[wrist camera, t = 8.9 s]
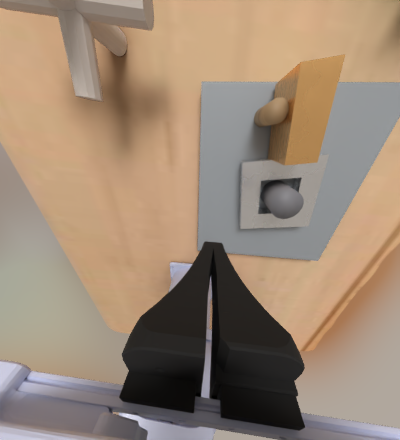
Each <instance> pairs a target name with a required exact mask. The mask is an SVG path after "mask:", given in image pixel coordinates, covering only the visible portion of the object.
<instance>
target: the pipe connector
mask: <svg viewBox="0 0 400 440" xmlns="http://www.w3.org/2000/svg"><path fill="white" fill-rule="evenodd" d="M0 8H4V9H7V10H13V11H20V12H27V13H34V14H41V15H48V16H54V17H58V18H59V22H60V27H61V31H62V36H63V40H64V45H65V49H66V54H67V59H68V63H69V68H70V72H71V77H72V81H73V86H74V90H75V95H76V96H77V97H81V98H84V99H89V100H94V101H100V102H103V95H102V88H101V82H100V75H99V68H98V62H97V55H96V48H95V42H94V38H95V39H96V40H98V41H99V42H100V43H101V44H103V45H104V46H105V47H106V48H108V49H109V50H110V51H111V52H113V53H114V54H115V55H117V56H122V55H124V54H125V52H126V50H127V40H126V37H125V35H124V33H123V32H122V31H121V30H120V28H119V27H118V26H123V27H130V28H137V29H144V30H151V31H152V29H153V24H154V12H153V2H152V0H0Z"/></svg>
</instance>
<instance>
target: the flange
mask: <svg viewBox="0 0 400 440" xmlns="http://www.w3.org/2000/svg"><path fill="white" fill-rule="evenodd" d="M344 58H345V55H339V56H333V57H328V58H322V59H316V60H310V61H305V62H301V63H299V64H298V65H297V66H296V67H295V68H294V69H293V70H292V71H290V72H289V73H288V74H287V75H286V76H285V77H284V78H282V79H281V80H280V81H279V82H278V83H277V84H276V85H275V94H274V99H275V98H278V97H282V98H285V99H286V100H287V101H288V104H289V112H288V114H287V116H286V118H285V119H284V120H283V121H282V122H280V123H278V124H274V125H271V132H270V142H269V151H268V158H267V159H256V160H246V161H241V170H240V212H239V225H240V229H251V228H279V227H306V226H309V224H310V220H311V217H312V213H313V210H314V206H315V203H316V199H317V196H318V192H319V189H320V185H321V182H322V178H323V175H324V171H325V168H326V164H327V161H328V157H329V154H323V153H320V151H321V147H322V143H323V139H324V135H325V131H326V127H327V124H328V120H329V116H330V112H331V108H332V104H333V100H334V96H335V93H336V89H337V85H338V81H339V77H340V73H341V69H342V65H343V61H344ZM289 178H296V179H295V184H294V190H296V191H297V192H298V193H300V194H301V195H302V197H303V199H304V204H303V207H302V209H301V210H300V212H299V213H298V214H296V215H295V216H293V217H291V218H288V219H280V218H277V217H275V216H274V215H273V214H272V213H271V211H270V210H269V209H262V210H258V209H259V198H260V187H261V181H263V180H276V179H289Z"/></svg>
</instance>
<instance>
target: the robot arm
mask: <svg viewBox="0 0 400 440" xmlns="http://www.w3.org/2000/svg"><path fill="white" fill-rule="evenodd" d="M170 273H171V285H170V288H169V291H168V294H167V295H165V296H164V297H163V298H162V299H161V300H160V301H159V302H158V303H157V304H156V305H154V306H153V307H152V308H151V309H149V310H148V311H147V312H146V313H144V314H143V315H142V316H141V317H140V319H139V320H138V322H137V323H136V325H135V327H134V329H133V330H132V332H131V334H130V336H129V338H128V341H127V343H126V346H125V348H124V350H123V353H122V357H123V361H124V362H125V364H126V366H127V368H128V370H129V372H128V375H127V377H126V380H125V383H124V385H119V384H113V383H107V382H101V381H94V380H88V379H81V378H75V377H68V376H62V375H55V374H49V373H43V372H37V371H31V369H30V368H29V367H27V366H26V365H24V364H21V363H17V362H13V361H6V360H0V440H213V435H214V433H215V431H216V429H219V430H226V431H231V432H237V433H243V434H249V435H254V436H261V437H266V438H272V439H278V440H400V428H396V427H389V426H383V425H377V424H370V423H364V422H357V421H351V420H345V419H338V418H332V417H325V416H319V415H312V414H306V413H301V412H300V408H299V405H298V402H297V399H296V396H298V392H297V389H296V386H295V382H294V380H296V379H297V378H298V377H299V376H300V375H301V374H302V372H303V370H304V363H303V360H302V358H301V355H300V353H299V351H298V349H297V346H296V344H295V342H294V340H293V338H292V336H291V335H290V334H289V333H288V332H287V331H286V330H285V329H284V328H283V327H282V326H281V325H280V324H279V323H278V322H277V321H276V320H275V319H274V318H273V317H272V316H271V315H270V314H269V313H268V312H267V311H266V310H265V309H264V308H263V307H262V305H261V304H260V303H259V302H258V301H257V300H256V299H255V297H254V296H253V295H252V294H251V293H250V291H249V290H248V289H247V287H246V286H245V285H244V283H243V282H242V280H241V279H240V277H239V276H238V274H237V273H236V271H235V269H234V268H233V266H232V264H231V262H230V260H229V258H228V256H227V254H226V252H225V249H224V246H223V244H222V243H219V242H207V241H205V242H204V243H203V246H202V249H201V251H200V253H199V254H198V256H197V258H196V260H195V261H194V263H193V264H188V263H177V262H171V263H170ZM211 299H212V309H213V312H212V330H211V329H209V325H210V300H211ZM112 411H113V412H119V415H116V414H113V413H112Z"/></svg>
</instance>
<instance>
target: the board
mask: <svg viewBox="0 0 400 440" xmlns="http://www.w3.org/2000/svg"><path fill="white" fill-rule="evenodd" d="M277 83H278V82H202V91H201V132H200V173H199V215H198V251H201V249H202V246H203V243H204V242H205V241H207V242H219V243H222V244H223V246H224V249H225V252H226V253H232V254H244V255H256V256H267V257H279V258H291V259H302V260H314V261H318V260H319V258H320V256H321V255H322V253H323V251H324V249H325V247H326V246H327V244H328V242H329V240H330V239H331V237H332V235H333V233H334V232H335V230H336V228H337V226H338V225H339V223H340V221H341V219H342V217H343V216H344V214H345V212H346V210H347V209H348V207H349V205H350V203H351V202H352V200H353V198H354V196H355V195H356V193H357V191H358V189H359V187H360V186H361V184H362V182H363V180H364V179H365V177H366V175H367V173H368V172H369V170H370V168H371V166H372V165H373V163H374V161H375V159H376V157H377V156H378V154H379V152H380V150H381V149H382V147H383V145H384V143H385V142H386V140H387V138H388V136H389V135H390V133H391V131H392V129H393V127H394V126H395V124H396V122H397V120H398V119H399V117H400V83H394V82H338V85H337V89H336V93H335V96H334V100H333V104H332V108H331V112H330V116H329V120H328V124H327V127H326V131H325V135H324V139H323V143H322V147H321V151H320V153H323V154H329V157H328V161H327V164H326V168H325V171H324V175H323V178H322V182H321V185H320V189H319V192H318V196H317V199H316V203H315V206H314V210H313V213H312V217H311V220H310V224H309V226H306V227H279V228H251V229H240V225H239V212H240V170H241V161H246V160H256V159H267V158H268V151H269V142H270V132H271V125H269V126H264V127H258V126H257V125H256V124H255V122H254V116H255V113H256V112H257V110H258V109H260V108H261V107H263V106H264V105H266V104H268V103H269V102H271V101H272V100H274V94H275V85H276V84H277ZM295 179H296V178H289V179H276V180H263V181H261V187H260V198H259V209H258V210H262V209H269V210H270V211H271V213H272V214H273V215H274V216H275V217H277V218H280V219H288V218H291V217H293V216H295V215H296V214H298V213H299V212H300V210H301V209H302V207H303V204H304V199H303V197H302V195H301V194H300V193H298V192H297V191H296V190H294V184H295Z"/></svg>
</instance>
